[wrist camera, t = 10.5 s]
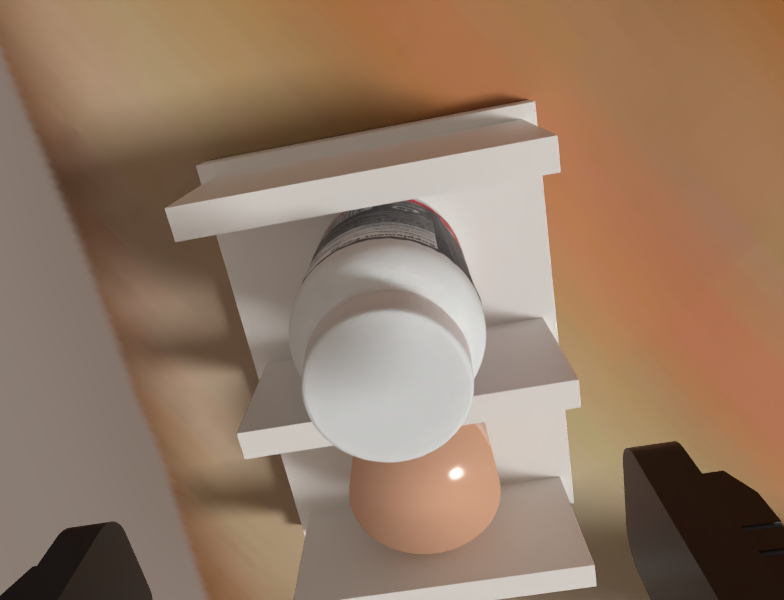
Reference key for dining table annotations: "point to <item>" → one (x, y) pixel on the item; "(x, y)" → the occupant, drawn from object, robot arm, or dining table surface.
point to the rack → (493, 380)
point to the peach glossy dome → (429, 495)
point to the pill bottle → (388, 332)
